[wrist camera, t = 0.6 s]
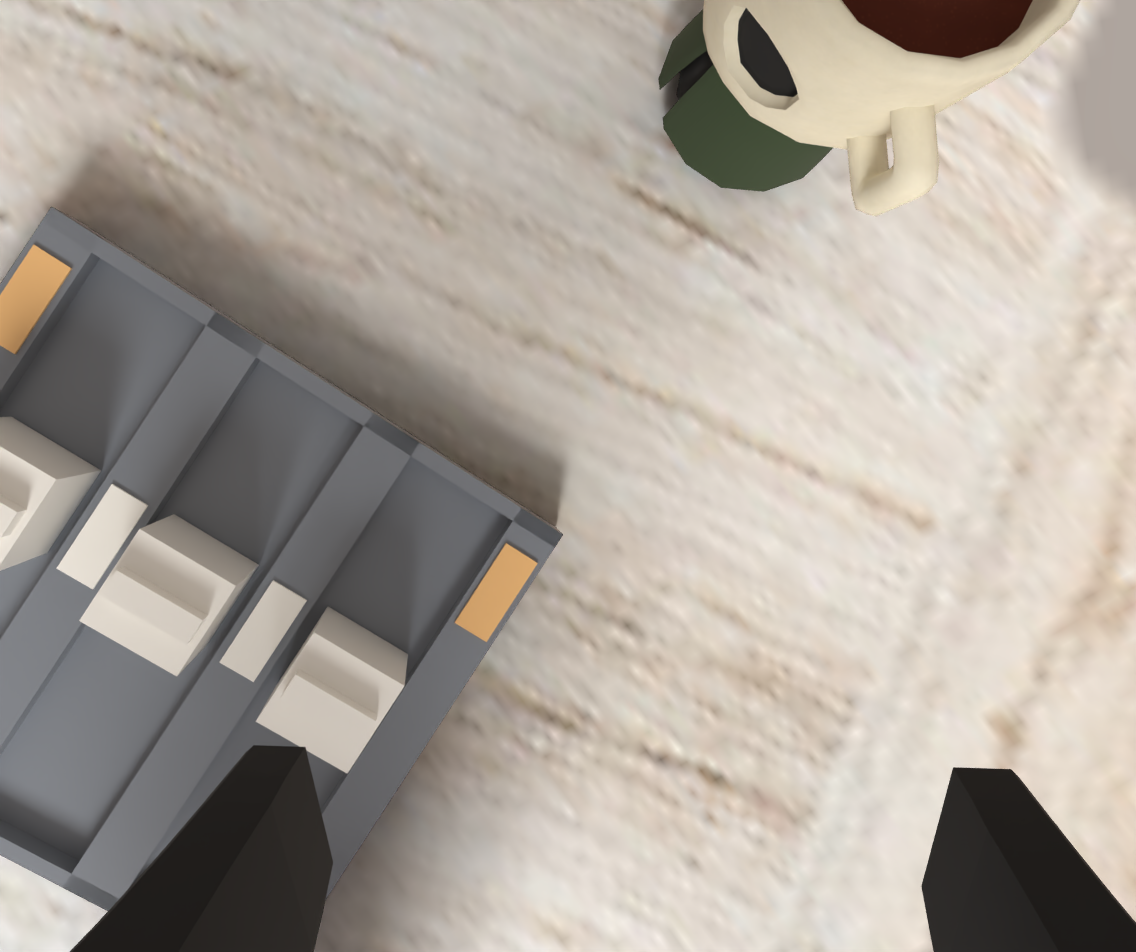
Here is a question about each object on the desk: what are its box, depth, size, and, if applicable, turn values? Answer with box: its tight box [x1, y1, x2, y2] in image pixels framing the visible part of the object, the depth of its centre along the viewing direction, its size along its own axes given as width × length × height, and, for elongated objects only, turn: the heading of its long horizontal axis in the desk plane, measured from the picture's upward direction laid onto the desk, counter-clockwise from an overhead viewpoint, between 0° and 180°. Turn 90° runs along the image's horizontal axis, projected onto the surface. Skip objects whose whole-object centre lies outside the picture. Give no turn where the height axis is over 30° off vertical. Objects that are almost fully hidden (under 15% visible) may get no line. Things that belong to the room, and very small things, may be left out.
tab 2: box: [79, 514, 259, 676], centre depth 28 cm, size 3×3×4 cm
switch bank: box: [0, 207, 563, 911], centre depth 30 cm, size 17×18×2 cm
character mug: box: [659, 0, 1080, 216], centre depth 26 cm, size 11×7×13 cm, turn 6°
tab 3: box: [256, 607, 408, 774], centre depth 29 cm, size 3×3×4 cm
